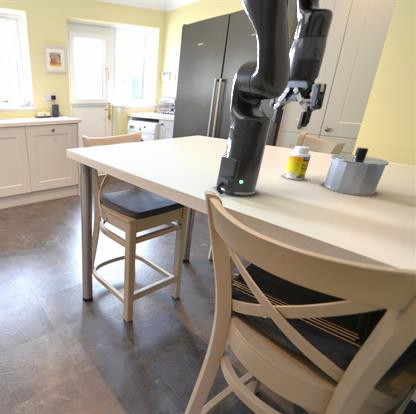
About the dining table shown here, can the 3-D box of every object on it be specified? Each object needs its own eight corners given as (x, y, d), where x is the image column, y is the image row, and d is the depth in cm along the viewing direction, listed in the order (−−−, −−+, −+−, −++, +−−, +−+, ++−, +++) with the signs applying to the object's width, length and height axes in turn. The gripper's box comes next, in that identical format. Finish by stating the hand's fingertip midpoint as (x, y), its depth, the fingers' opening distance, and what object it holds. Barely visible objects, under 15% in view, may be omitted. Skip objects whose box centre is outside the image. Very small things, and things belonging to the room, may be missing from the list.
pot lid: (365, 169, 73) (371, 153, 72) (320, 158, 84) (324, 144, 83) (399, 166, 76) (405, 151, 75) (351, 157, 87) (355, 143, 86)
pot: (354, 197, 77) (365, 166, 73) (315, 184, 87) (323, 157, 84) (384, 194, 80) (396, 164, 76) (343, 182, 90) (352, 155, 86)
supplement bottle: (298, 181, 90) (308, 149, 86) (280, 177, 94) (289, 146, 90) (307, 178, 93) (316, 147, 89) (289, 174, 97) (297, 144, 93)
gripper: (271, 61, 78) (258, 122, 84) (319, 55, 65) (300, 128, 71) (293, 62, 79) (278, 122, 86) (344, 56, 67) (323, 127, 73)
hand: (288, 124), depth 78 cm, fingers open, 8 cm apart
